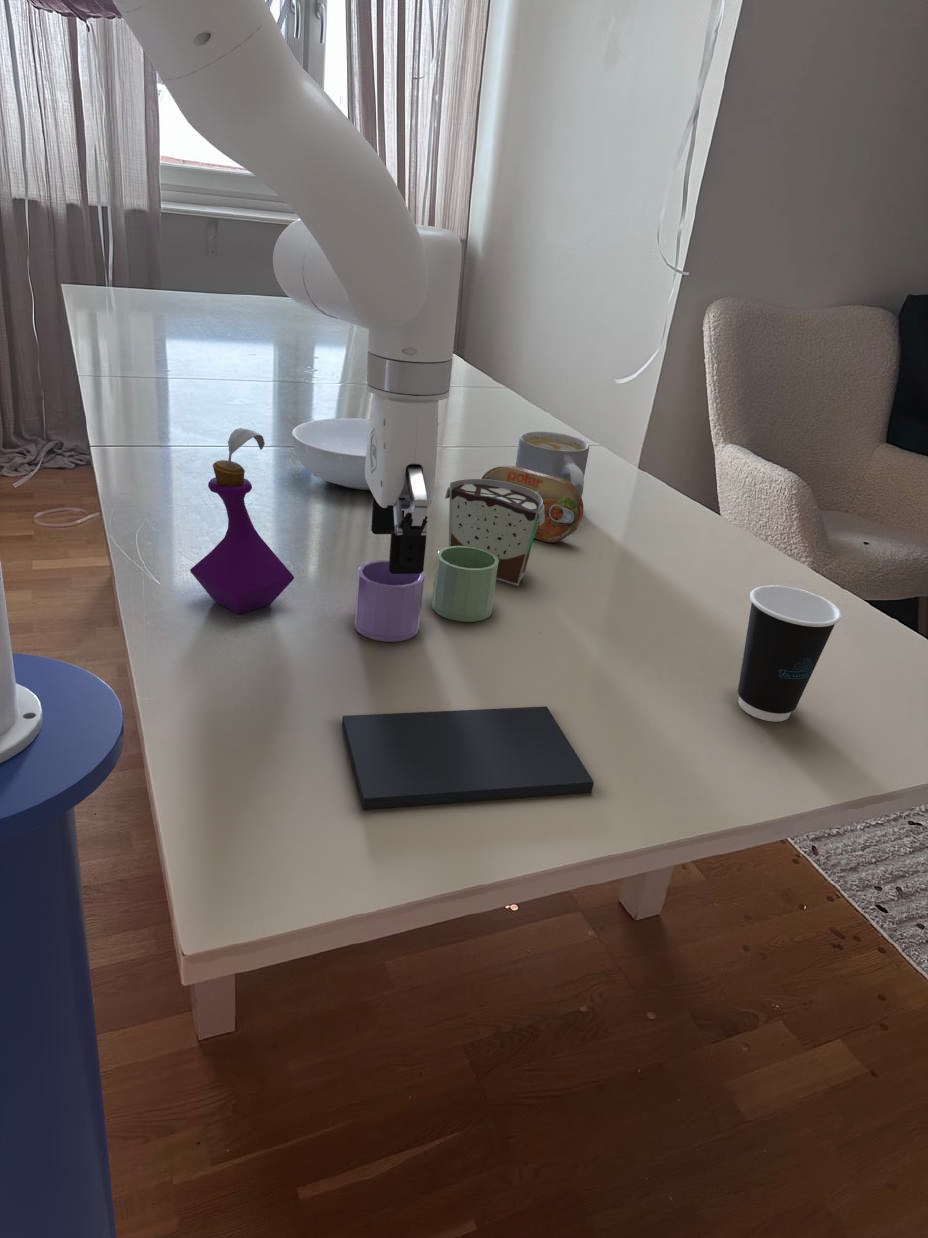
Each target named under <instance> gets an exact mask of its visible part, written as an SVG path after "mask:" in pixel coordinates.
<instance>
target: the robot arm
mask: <svg viewBox="0 0 928 1238" xmlns="http://www.w3.org/2000/svg"><path fill="white" fill-rule="evenodd" d="M111 2H112V3H113V5H114V6H115V8H116V9H117V11H118V12H119V13H120V15H121V17H122V18H123V20H124V21H125V23H126V25H127V26H128V28H129V30H130V31H131V33H132V34H133V36H134V37H135V39H136V41H137V42H138V44H139V46H140V47H141V49H142V50H143V52H144V53H145V55H146V57H147V58H148V60H149V62H150V63H151V65H152V67H153V68H154V70H155V72H156V73H157V75H158V76H159V78H160V81H162V83H163V85H164V86H165V88H166V89H167V91H168V93H169V94H170V96H171V97H172V99H173V101H174V102H175V104H176V107H177V108H178V109H179V111H180V112H181V115H183V117H184V119H185V120H186V122H187V123H188V124H189V125H190V126H191V128H192V129H194V131H196V132H197V133H198V134H199V135H200V136H201V137H202V138H203V139H205V140H206V141H207V142H208V143H209V144H210V145H211V146H213V148H215V150H217V151H219V152H220V153H221V154H223V156H225V157H227V158H228V159H230V160H231V161H233V162H235V164H238V165H239V166H240V167H242V168H243V169H245V170H247V171H248V172H249V173H251V174H252V175H254V176H255V177H256V178H257V179H259V180H260V181H261V182H263V184H265V185H266V186H267V187H269V188H270V189H271V190H272V191H273V193H275V194H277V196H278V197H279V198H280V199H281V200H283V202H284V203H285V204H286V205H287V206H288V207H289V208H290V209H291V210H292V211H293V212H294V213H295V215H296V216H297V218H298V219H296V220H294V221H293V222H291V223H290V224H288V225H287V226H286V227H285V229H284V230H282V232H281V233H280V234H279V236H278V238H277V239H276V242H275V245H274V247H273V253H272V267H273V273H274V276H275V279H276V280H277V283H278V285H279V286H280V288H281V290H282V291H283V292H284V294H285V295H286V296H287V297H288V298H289V299H290V300H292V301H293V302H295V303H296V304H297V305H299V306H300V307H302V308H304V309H306V310H309V311H310V312H314V313H318V314H320V315H324V316H326V317H329V318H331V319H332V318H333V319H336V320H341V321H344V322H347V323H350V324H351V325H352V324H353V325H355V326H358V327H361V328H364V329H367V330H368V337H367V354H366V355H367V356H366V375H365V376H366V377H365V389H366V391H367V392H369V393H370V394H372V398H371V404H370V410H369V411H370V412H369V419H370V421H369V431H368V441H367V452H366V462H365V478H366V481H367V484H368V486H369V488H370V490H369V491H370V493H371V494H372V508H371V509H372V510H371V525H370V530H371V532H372V534H373V535H390V542H389V543H390V544H389V545H390V546H389V559H388V560H389V571H390V573H392V574H420V573H422V572H423V573H424V568H425V559H426V558H425V557H426V545H427V534H428V522H429V521H428V516H427V512H428V507H430V505H431V504H432V501H433V496H434V489H435V482H436V471H437V470H436V468H437V455H438V435H439V424H440V422H439V406H440V405H439V402H440V401H443V400H446V399H447V398H449V397H450V389H451V379H452V368H453V356H454V346H455V335H456V325H457V324H456V323H457V314H458V313H457V312H458V303H459V291H460V281H461V271H462V270H461V269H462V258H463V247H462V246H463V245H462V241H461V239H460V237H459V236H458V235H457V234H456V233H455V232H453V231H452V230H450V229H448V228H443V227H438V226H434V225H433V226H432V225H425V224H418V223H417V224H416V223H415V221H414V219H413V216H412V214H411V212H410V211H409V208H408V206H407V204H406V202H405V200H404V198H403V196H402V193H401V191H400V189H399V187H398V185H397V184H396V181H395V179H394V178H393V176H392V174H391V172H390V171H389V170H388V168H387V166H386V164H385V163H384V161H383V160H382V159H381V157H380V156H379V154H378V153H377V152H376V150H375V149H374V147H373V146H372V145H371V143H370V142H369V141H368V140H367V139H366V138H365V136H364V135H363V134H362V133H361V131H359V129H358V128H357V127H356V126H355V124H353V123H352V122H351V120H350V119H349V118H348V116H346V114H344V112H343V111H342V109H341V108H340V107H339V106H338V105H337V104H336V103H335V101H334V100H333V99H332V98H331V96H329V94H328V93H327V92H326V91H325V89H324V88H322V87H321V85H320V84H319V83H318V82H317V81H315V79H314V78H313V77H312V76H311V75H310V74H309V73H308V72H307V71H306V70H305V69H304V68H303V67H302V65H301V64H300V63H299V61H298V60H297V58H296V56H295V55H294V53H293V52H292V50H291V48H290V46H289V45H288V42H287V40H286V39H285V36H284V35H283V33H282V30H281V29H280V27H279V25H278V22H277V21H276V19H275V17H274V15H273V13H272V10H271V9H270V8H269V6H268V5H269V4H268V3H267V1H266V0H111ZM405 511H409V512H406V513H405ZM2 570H3V569H2V561H1V559H0V763H2V762H4V761H6V760H8V759H10V758H12V757H13V756H15V755H16V754H18V753H19V752H21V751H22V750H23V749H25V748H26V747H27V746H28V745H29V744H30V743H31V742H32V741H33V740H34V739H35V737H36V736H37V735H38V733H39V732H40V729H41V726H42V723H43V719H42V708H41V704H40V701H39V700H38V698H37V697H36V695H35V694H33V693H32V692H31V691H30V690H28V689H27V688H25V687H23V686H21V685H19V684H17V683H16V681H15V673H14V665H13V657H12V653H13V649H12V641H11V635H10V626H9V618H8V610H7V602H6V592H5V585H4V578H3V571H2Z"/></svg>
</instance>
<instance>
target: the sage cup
mask: <svg viewBox="0 0 928 1238" xmlns="http://www.w3.org/2000/svg"><path fill="white" fill-rule="evenodd" d="M498 565H499V559H498V558H497V557H496V555H494V554H492V553H491V552H489V551H486V550H483V549H480V548H476V547H470V546H451V547H449V546H446V547H443V548H441V549H440V550H438V552H437V554H436V559H435V569H434V578H433V587H432V595H431V597H432V598H431V607H432V610H433V611H434V612H435V613H436V614H437V615H439V616H440V617H443V618H445V619H448V620H451V621H455V622H461V623H462V622H463V623H475V622H480V621H484V620H486V619H488V618H489V617H490V616H491V615H492V611H493V606H494V599H495V591H496V585H497V572H498Z"/></svg>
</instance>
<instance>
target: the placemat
mask: <svg viewBox="0 0 928 1238" xmlns="http://www.w3.org/2000/svg"><path fill="white" fill-rule="evenodd" d="M341 727H342V731H343V735H344V739H345V743H346V747H347V751H348V755H349V760H350V763H351V767H352V772H353V775H354V779H355V784H356V787H357V791H358V795H359V798H360V803H361V807H362V810H374V809H387V808H401V807H412V806H413V807H414V806H415V807H416V806H426V805H427V806H428V805H438V804H439V805H441V804H453V803H467V802H479V801H493V800H505V799H518V798H519V799H520V798H521V799H522V798H533V797H546V796H558V795H571V794H572V795H573V794H585V793H586V794H587V793H593V790H594V784H595V781H594V779H593V778H592V776H591V775H590V773H589V772H588V770H587V769H586V767H585V765H584V764H583V762H582V760H581V759H580V758H579V756H578V754H577V753H576V751H575V749H574V748H573V746H572V745H571V743H570V741H569V740H568V738H567V736H566V735H565V733H564V731H563V730H562V729H561V726H560V725H559V724H558V722H557V721H556V718H555V717H554V716H553V714H552V713H551V711H550V709H549V708H548V706H544V705H543V706H525V707H524V706H523V707H506V708H505V707H502V708H484V709H481V708H480V709H459V710H458V709H457V710H437V711H416V712H396V713H395V712H393V713H371V714H353V715H342V717H341Z"/></svg>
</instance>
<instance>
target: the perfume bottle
mask: <svg viewBox="0 0 928 1238" xmlns="http://www.w3.org/2000/svg"><path fill="white" fill-rule="evenodd" d="M251 439H254V440H255V441H256V443H257V445H258V448H259V451H262V450H263V449H264V447H265V445H266V444H265V440H264V436H263V435H262V434H260V433H259V432H257V431H256V430H253V429H248V428H244V427H243V428H242V427H238V428H236V429H234V430H233V431H232V432H231V433H230V435H229V438H228V440H227V446H228V459H227V460H226V459H220V460H217V461H215V462H214V463H212V468H213V473H214V477H212V478H211V479H210V480H209V481H208V484H207V487H208V489H209V490H210V492H211V493H214V494H217V495H218V496H219V497H220V499H221V501H222V502H223V504H224V507H225V510H226V514H227V519H228V520H227V521H228V522H227V529H226V533H225V535H224V537H223V538H222V539H221V540H220V541H219V542H218V543H217V545H216V546H214V548H213V549H212V550H211V551H210V552H209V553H208V554H207V555H205V556H204V557H203V558H202V559H201V560H200V561H198V562H197V563H196V564H195V565H193V566H192V567H191V568H190V569H189V571H190V573H191V574H192V576H193V577H194V578H195V579H196V580H197V582H198V583H199V584H200V586H201V587H202V588H203V589H204V590H205V592H206V593H207V594H208V595H209V596H210V598H211V599H212V600H213V601H214V602H215V603H216V604H218V605H221V606H222V607H224V608H226V609H227V610H229V611H231V612H233V613H234V614H235V615H242V614H245V613H248V612H251V611H254V610H258V609H260V608H264V607H268V606H270V605H271V604H272V603H274V601H275V600H276V599H277V598H278V597H279V596H280V595H281V594H282V593H283V592H284V591H285V589H286V588H287V587H288V586H289V585H290V584H291V583H292V582H293V581H294V579H295V576H294V575H293V573H292V572H291V571H290V570H289V569H288V568H287V567H286V565H285V564H284V563H283V561H282V560H280V558H279V557H278V556H277V555H276V554H275V552H274V551H273V550H272V549H271V547H270V546H269V545H268V544H267V542H265V540H264V539H263V538H262V537H261V536H260V534H259V533H258V531H257V530H256V528H255V527H254V524H253V521H252V519H251V517H250V515H249V511H248V509H247V507H246V503H245V497H246V494H248V493H250V492H251V490H252V489H253V486H252V483H251V482H250V481H249V479H247V478H245V474H246V471H245V469H244V468H243V466H242V465H241V464H239V463H238V462H235V461H232V454H234V453H235V452H236V451H237V450H238V449H240V448H241V447H242V446H243V445H245V444H246V443H247V442H248V441H249V440H251Z"/></svg>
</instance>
